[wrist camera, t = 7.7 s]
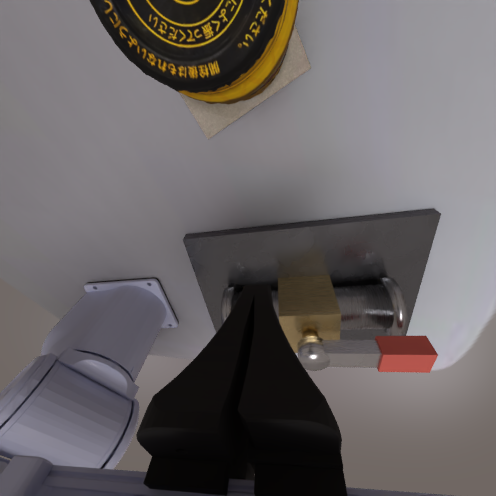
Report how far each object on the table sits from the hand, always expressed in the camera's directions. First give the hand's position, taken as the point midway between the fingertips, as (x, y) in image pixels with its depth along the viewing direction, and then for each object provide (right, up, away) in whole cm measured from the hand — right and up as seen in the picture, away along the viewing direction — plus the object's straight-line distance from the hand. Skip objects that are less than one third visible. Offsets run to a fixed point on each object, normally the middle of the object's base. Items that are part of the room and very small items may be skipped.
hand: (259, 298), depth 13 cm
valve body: (+5, -2, +13) cm, 14 cm away
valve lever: (+8, -5, +7) cm, 12 cm away
